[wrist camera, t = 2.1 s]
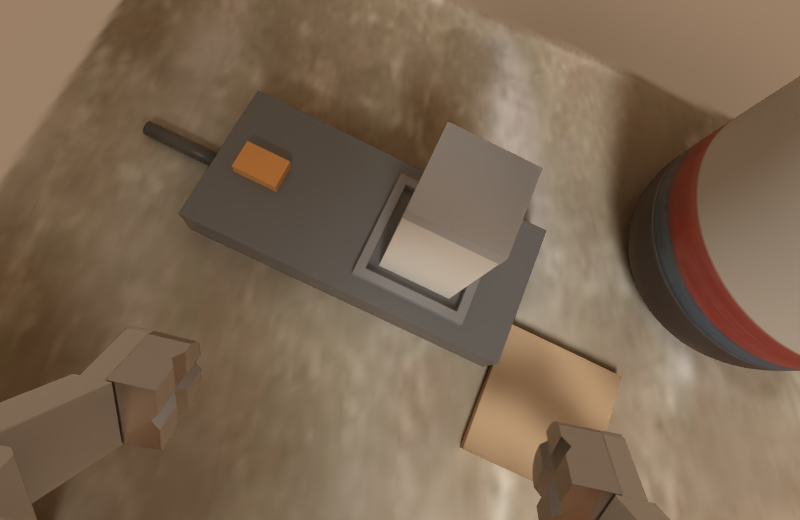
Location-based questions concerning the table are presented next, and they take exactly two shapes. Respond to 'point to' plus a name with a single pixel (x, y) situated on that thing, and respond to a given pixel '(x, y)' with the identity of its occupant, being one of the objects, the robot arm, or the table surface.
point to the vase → (728, 239)
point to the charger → (461, 213)
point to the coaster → (536, 400)
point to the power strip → (341, 224)
